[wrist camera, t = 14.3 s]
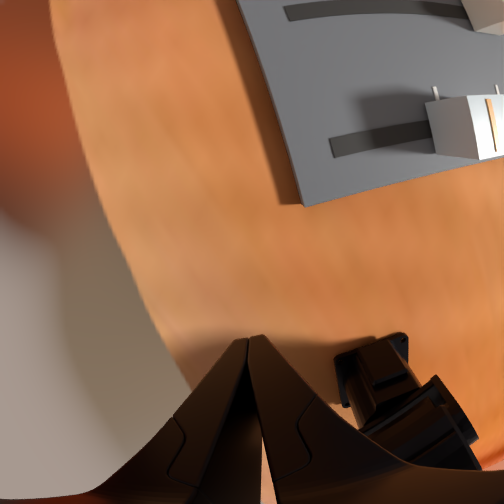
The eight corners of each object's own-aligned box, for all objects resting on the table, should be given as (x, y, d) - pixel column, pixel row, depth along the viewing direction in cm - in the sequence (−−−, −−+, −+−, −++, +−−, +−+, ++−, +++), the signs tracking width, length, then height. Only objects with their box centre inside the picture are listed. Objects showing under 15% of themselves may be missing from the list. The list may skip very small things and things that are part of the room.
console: (524, 149, 17) (540, 152, 15) (301, 204, 19) (308, 210, 17) (477, -6, 13) (491, -12, 11) (233, -5, 14) (232, -21, 12)
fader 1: (499, 35, 13) (535, 26, 8) (474, 31, 13) (511, 18, 9) (484, -1, 12) (516, -14, 7) (457, -7, 12) (490, -25, 8)
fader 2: (471, 147, 16) (515, 152, 12) (436, 154, 16) (480, 160, 12) (461, 99, 15) (504, 94, 11) (424, 102, 15) (467, 95, 11)
